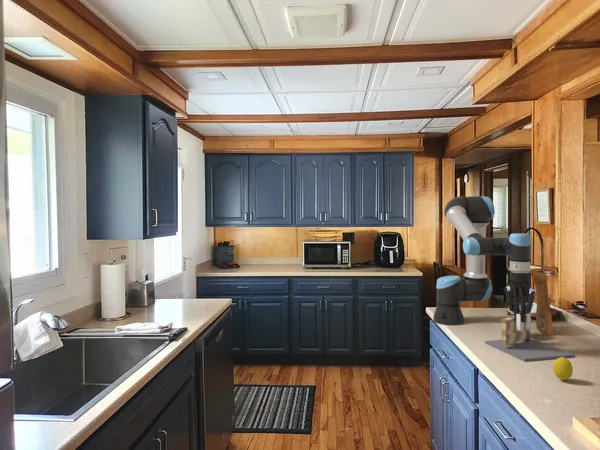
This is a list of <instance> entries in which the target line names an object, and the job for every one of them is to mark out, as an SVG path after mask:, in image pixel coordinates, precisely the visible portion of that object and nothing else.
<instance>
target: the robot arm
mask: <svg viewBox="0 0 600 450" xmlns="http://www.w3.org/2000/svg"><path fill="white" fill-rule="evenodd" d="M495 211H496V210H495V205H494V202H493V200H492V199H491V197H489V196H483V195H481V196H480V195H478V196H477V195H475V196H473V195H472V196H456V197H454V198H451V199H450V200H449V201H448V202H446V204H445V207H444V216H445V218H446V220H447V221H448V222H449V223H451V224H452V225H453V227H454V228H455V229H456V231H457V233H458V234H459V236H460V237H461V238H462V240H463V242H462V249H463V253H464V254H465V255H466V271H465V273H463V278H461V276H460V275H445V276H441V277H438V279H436V287H435V288H436V306H435V307H436V308H435V310H434V313H433V316H432V317H433V318H432V319H433V320H432V321H433V322H434V323H437V324H440V325H446V326H447V325H449V326H458V325H462V324H463V325H464V323H465V317H464V315H463V312H462V311H463V310H462V308H461V302H486V301H488V300H489V299H490V298H491V296H492V292H493V285H492V284H493V283H492V281H491V279H490V278H489V276H488V274H486V272H485V271H486V256H509V271H510V272H509V284H508V285H507V286H505V287H503V291H504V293H505V296H506V299H507V300H506V301H507V304H508V309H509V311H510V312H512V313H513V312H514V314H515V321H517V330H519V331H521V330H524V322H525V321H526V314H528V313H530V314H531V313H532V310H533V306H534V301H535V297H536V296H537V291H536V289H533V287H532V285H531V272H532V271H531V249H532V248H531V245H532V243H531V236H530V234H529V233H517V232H515V233H511V234H510V235H509V236H501V237H498V236H495V237H487V226H488V225H489V224H490V220H493V218H494V217H495V214H496V212H495ZM528 294H529V295H528Z"/></svg>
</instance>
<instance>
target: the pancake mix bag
mask: <svg viewBox="0 0 600 450" xmlns="http://www.w3.org/2000/svg"><path fill="white" fill-rule="evenodd" d="M530 277H531V278H532V281H533V283H534V287H535V290H536V291H537V294H536V298H537V299H536V300H537V301H536V310H535V322H536V323H535V324H536V329H537V330H538V332H539V333H540V334H541V335H545V336H551V335H553V332H554V330H553V321H552V320H553V318H552V310H551V304H550V298H549V288H548V287H549V286H548V285H549V284H548V280H549V279H548V277H549V276H548V275H547V274H546V273H544V272H540V271H535V270H532V271H530Z"/></svg>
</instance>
